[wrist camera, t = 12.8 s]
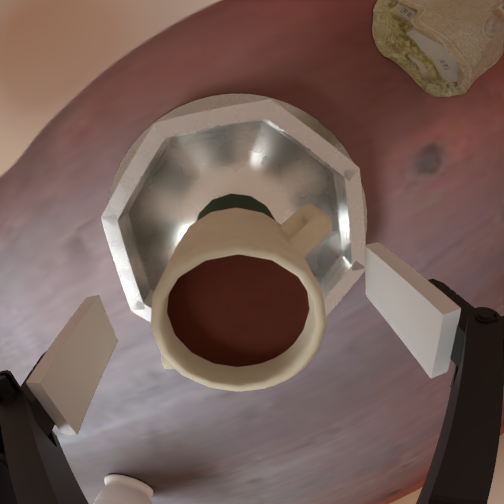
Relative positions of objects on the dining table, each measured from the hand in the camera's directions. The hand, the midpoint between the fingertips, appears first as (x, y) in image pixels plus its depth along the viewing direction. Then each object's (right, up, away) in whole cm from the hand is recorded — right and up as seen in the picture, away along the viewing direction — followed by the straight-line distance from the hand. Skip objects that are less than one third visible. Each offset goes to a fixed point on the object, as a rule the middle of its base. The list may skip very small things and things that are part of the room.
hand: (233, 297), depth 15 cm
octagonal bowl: (0, +4, +10) cm, 11 cm away
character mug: (0, +4, +10) cm, 10 cm away
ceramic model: (+17, +22, +5) cm, 28 cm away
